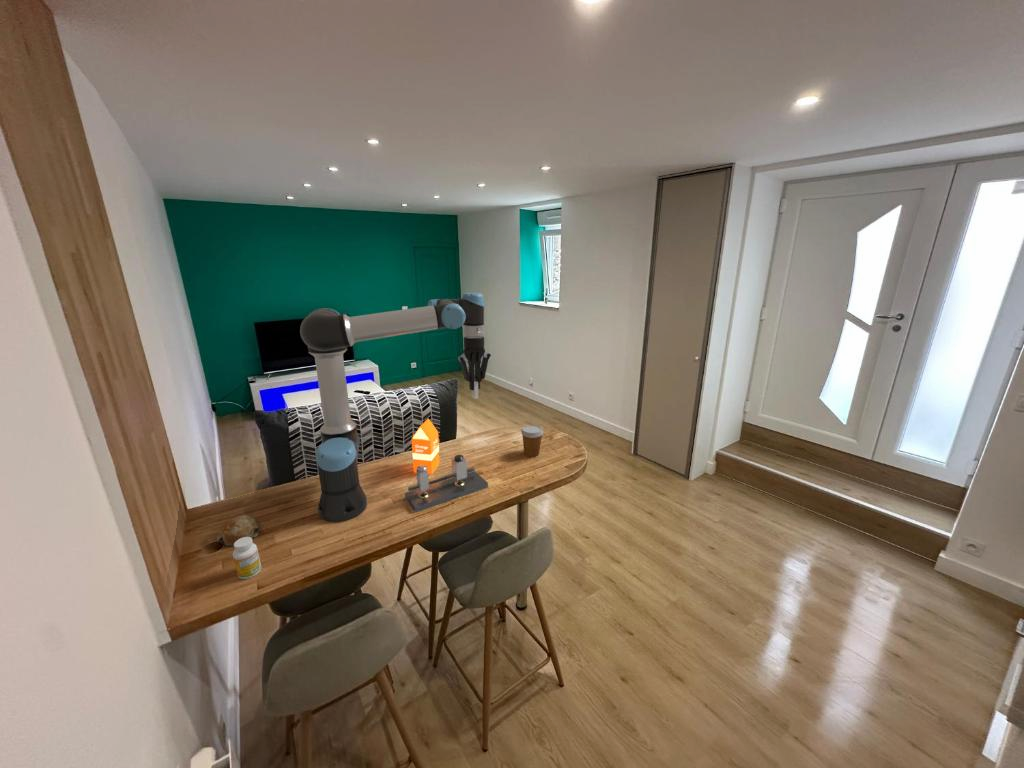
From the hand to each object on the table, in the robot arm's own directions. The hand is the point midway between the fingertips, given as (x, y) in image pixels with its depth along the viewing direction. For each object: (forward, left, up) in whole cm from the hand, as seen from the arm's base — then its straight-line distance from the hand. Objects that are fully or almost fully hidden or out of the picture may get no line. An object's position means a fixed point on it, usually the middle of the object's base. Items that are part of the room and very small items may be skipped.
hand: (474, 397), depth 151 cm
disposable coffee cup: (+21, +15, -31) cm, 40 cm away
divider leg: (-3, -15, -27) cm, 31 cm away
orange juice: (-20, -3, -31) cm, 36 cm away
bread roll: (-62, -50, -31) cm, 86 cm away
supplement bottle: (-49, -63, -31) cm, 85 cm away
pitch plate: (-7, -19, -30) cm, 36 cm away
